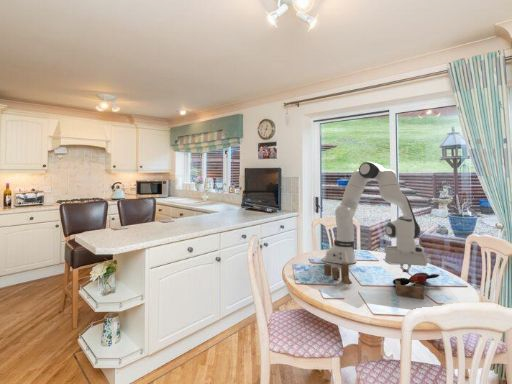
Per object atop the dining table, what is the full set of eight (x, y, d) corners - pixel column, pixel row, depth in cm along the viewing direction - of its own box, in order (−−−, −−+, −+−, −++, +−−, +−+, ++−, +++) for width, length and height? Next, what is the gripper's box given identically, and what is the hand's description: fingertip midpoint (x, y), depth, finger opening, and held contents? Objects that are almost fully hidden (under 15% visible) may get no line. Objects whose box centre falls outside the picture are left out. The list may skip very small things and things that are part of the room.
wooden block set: (322, 278, 158) (321, 261, 158) (331, 274, 164) (331, 258, 163) (349, 288, 144) (348, 269, 143) (358, 283, 149) (357, 265, 148)
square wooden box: (397, 295, 132) (397, 285, 132) (395, 288, 142) (395, 278, 142) (423, 299, 128) (423, 288, 128) (419, 291, 138) (419, 281, 138)
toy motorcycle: (392, 288, 145) (418, 283, 132) (388, 278, 147) (414, 272, 134) (420, 282, 156) (447, 277, 144) (416, 273, 159) (443, 267, 146)
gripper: (384, 246, 151) (384, 271, 151) (427, 249, 143) (427, 275, 143) (384, 244, 157) (384, 268, 157) (425, 247, 148) (425, 272, 148)
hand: (405, 272), depth 150 cm, fingers closed
